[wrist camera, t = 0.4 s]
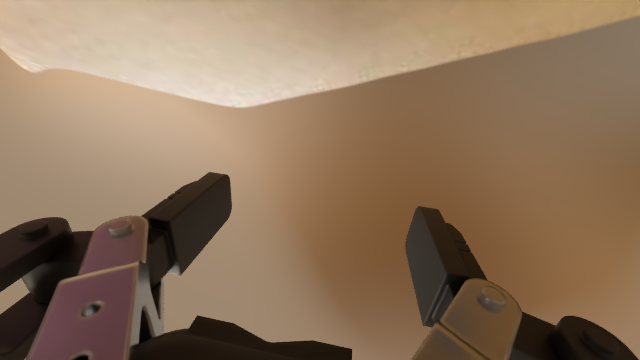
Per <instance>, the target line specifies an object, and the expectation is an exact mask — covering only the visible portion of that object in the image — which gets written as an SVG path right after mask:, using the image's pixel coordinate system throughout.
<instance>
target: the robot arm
mask: <svg viewBox="0 0 640 360" xmlns="http://www.w3.org/2000/svg"><path fill="white" fill-rule="evenodd" d="M231 209H232V203H231V187H230V178H229V176H228V175H225V174H219V173H213V172H209V173H207V174H206V175H205V176H203V177H202V178H201V179H199V180H198V181H195V182H192V183H190V184H187V185H185V186H183V187H181V188H180V189H179V190H177V191H176V192H175V194H174V193H173V194H171V195H170V196H169V197H168V198H167V199H164V200H163V201H162V202H160V203H159V204H158V205H156V206H155V207H153V208H152V209H150V210H149V211H148V212H146V213H145V214H144V215H142V216H124V217H119V218H116V219H112V220H110V221H108V222H105V223H103V224H102V225H100V226H99V227H98V228H96V229H95V231H78V232H72V231H71V228H70V226H69V223H68V221H67V220H66V219H63V218H58V217H49V218H41V219H37V220H33V221H29V222H26V223H23V224H21V225H18V226H16V227H14V228H12V229H10V230H8V231H6V232H4V233H2V234H0V292H1V291H3V290H4V289H5V288H7V287H8V286H10V285H11V284H13V283H14V282H16V281H17V280H19V279H20V278H22V280H23V281H24V283H25V285H26V286H27V288H28V290H29V291H30V293H28V294H27V295H26V296H24V297H23V298H22V299H20V300H19V301H18V302H16V303H15V304H14V305H12V306H11V307H10V308H8V309H7V310H6V311H4V312H3V313H2V314H0V360H24V359H25V358H26V357H27V358H26V360H352V349H349V348H344V347H340V346H335V345H331V344H326V343H321V342H317V341H294V342H276V343H271V342H267V341H265V340H263V339H261V338H259V337H257V336H255V335H254V334H252V333H250V332H248V331H246V330H244V329H243V328H241V327H239V326H237V325H236V324H234V323H229V322H225V321H220V320H215V319H210V318H206V317H202V316H197V317H196V318H195V320H194V321H193V323H192V324H191V326H190V328H189V329H181V330H175V331H171V332H168V333H164V284H163V279H162V278H163V276H165V275H166V273H172V274H177V275H181V274H182V273H183V272H184V271H185V270H186V269H187V267H188V266H189V265H190V264H191V263H192V261H193V260H194V259H195V258H196V256H197V255H198V254H199V253H200V252H201V251H202V249H203V248H204V247H205V246H206V245H207V244H208V242H209V241H210V240H211V239H212V238H213V236H214V235H215V234H216V233H217V231H218V230H219V229H220V228H221V227H222V226H223V224H224V223H225V222H226V221H227V220H228V218H229V216H230V213H231ZM406 254H407V258H408V263H409V267H410V272H411V276H412V281H413V285H414V289H415V293H416V298H417V302H418V307H419V311H420V315H421V320H422V324H423V326H428V327H432V329H431V331H430V332H429V333H428V335H427V336H426V338H425V339H424V341H423V343H422V344H421V345H420V347H419V349H418V350H417V352H416V353H415V355H414V356H413V358H412V359H411V360H638V358H637V357H636V356H635V355H634V354H633V353H632V351H631V350H630V349H629V348H628V347H627V346H626V345H625V344H624V343H623V342H621V341H620V340H619V339H618V338H617V337H615V336H614V335H613V334H611V333H610V332H608V331H607V330H605V329H604V328H602V327H600V326H598V325H596V324H595V323H593V322H591V321H588V320H586V319H583V318H580V317H575V316H565V317H563V318H562V319H561V320H560V321H559V322H558V324H557V325H556V326H555V325H552V324H550V323H548V322H545V321H543V320H541V319H538V318H536V317H534V316H531V315H529V314H526V313H524V312H522V311H521V308H520V306H519V304H518V302H517V301H516V300H515V299H514V298H513V297H512V296H511V295H510V294H509V293H508V292H507V291H505V290H504V289H503V288H501V287H500V286H498V285H496V284H494V283H492V282H490V281H488V280H487V278H486V277H485V275H484V273H483V271H482V270H481V268H480V266H479V264H478V263H477V261H476V259H475V257H474V256H473V254H472V253H471V250H470V249H469V247H468V245H467V244H466V241H465V240H464V238H463V236H462V234H461V233H460V232H459V231H458V230H457V229H456V228H455V227H454V226H452V225H451V224H449V223H445V221H444V219H443V217H442V215H441V213H440V212H439V210H438V209H433V208H426V207H421V206H418V207H417V208H416V211H415V213H414V216H413V220H412V222H411V225H410V229H409V232H408V235H407V238H406Z"/></svg>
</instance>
